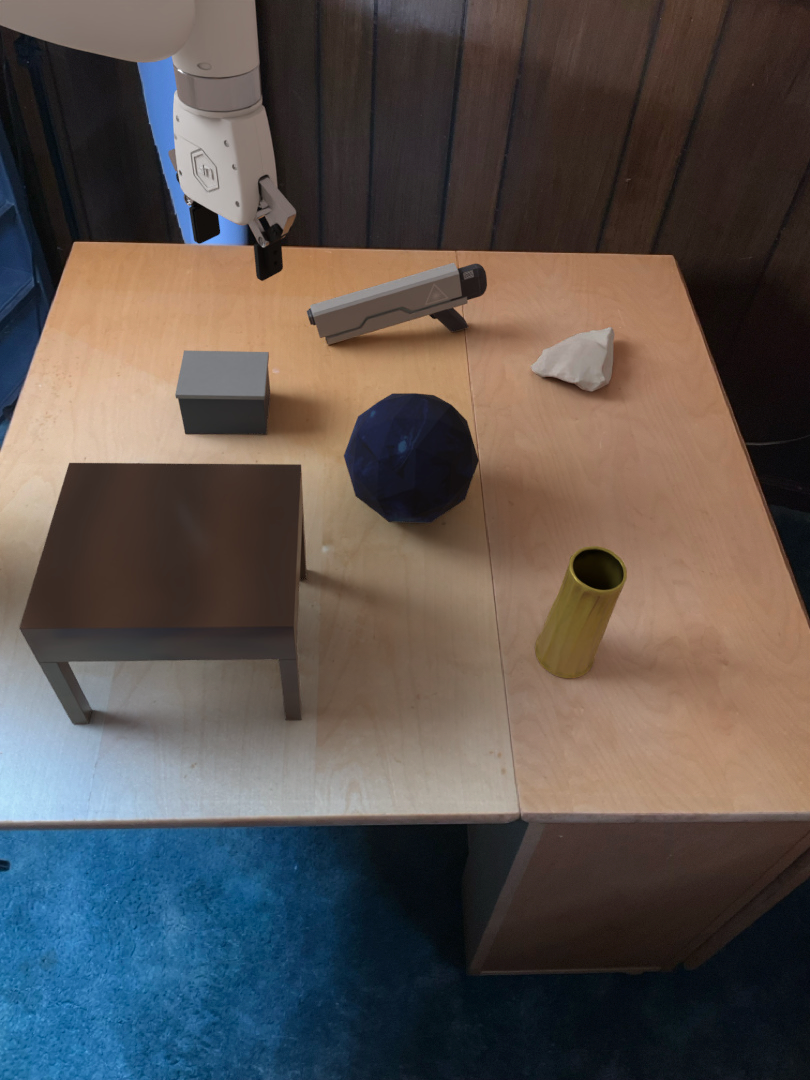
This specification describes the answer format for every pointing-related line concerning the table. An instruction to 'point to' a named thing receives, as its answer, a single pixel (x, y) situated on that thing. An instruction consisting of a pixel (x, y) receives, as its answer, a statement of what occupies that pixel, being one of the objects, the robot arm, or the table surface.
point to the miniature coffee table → (170, 571)
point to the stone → (580, 359)
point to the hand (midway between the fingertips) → (238, 256)
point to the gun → (400, 302)
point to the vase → (581, 612)
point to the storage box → (224, 392)
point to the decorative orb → (411, 457)
